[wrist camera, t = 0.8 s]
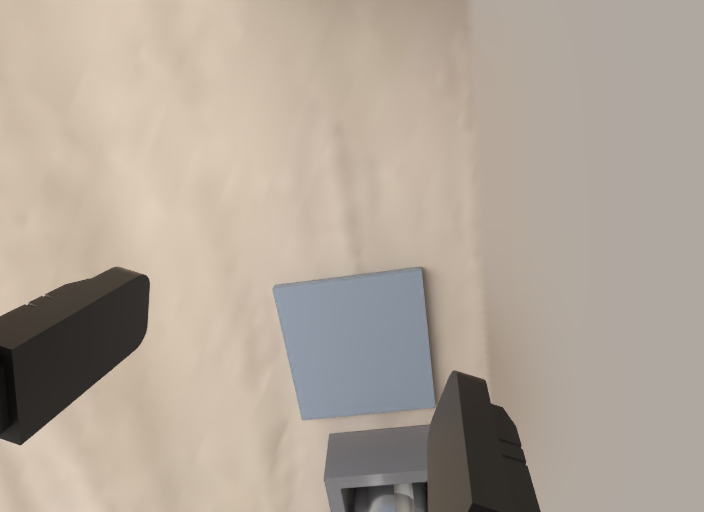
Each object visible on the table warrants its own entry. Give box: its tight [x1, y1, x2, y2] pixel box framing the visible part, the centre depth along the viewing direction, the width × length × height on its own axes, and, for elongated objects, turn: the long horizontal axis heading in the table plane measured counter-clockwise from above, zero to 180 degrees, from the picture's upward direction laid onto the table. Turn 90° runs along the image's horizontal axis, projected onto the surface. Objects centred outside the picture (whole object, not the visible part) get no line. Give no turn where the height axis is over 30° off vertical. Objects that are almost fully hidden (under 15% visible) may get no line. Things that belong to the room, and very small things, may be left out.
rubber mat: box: [273, 267, 436, 420], centre depth 35 cm, size 13×12×1 cm
